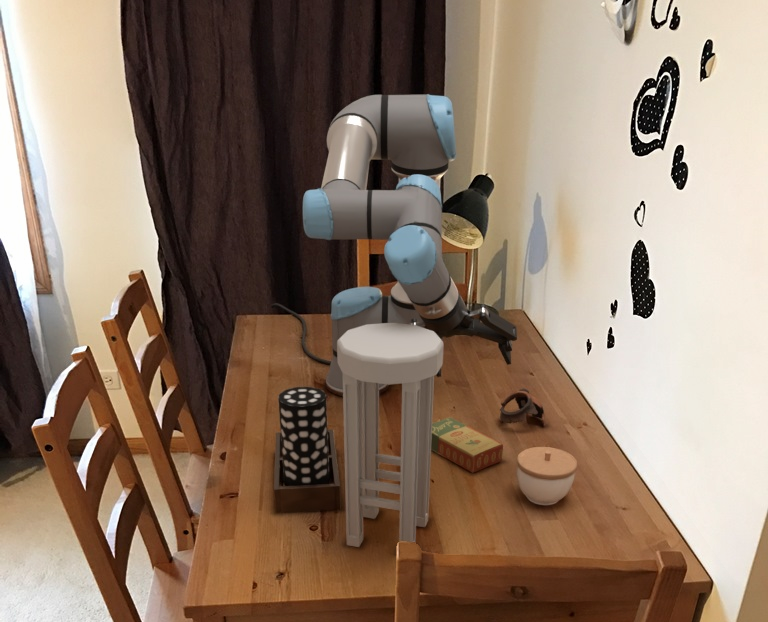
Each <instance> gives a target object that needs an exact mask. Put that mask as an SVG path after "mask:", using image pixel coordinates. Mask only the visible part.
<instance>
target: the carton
mask: <svg viewBox="0 0 768 622" xmlns="http://www.w3.org/2000/svg"><path fill="white" fill-rule="evenodd" d="M431 451H433V452H434V453H436V454H438V455H440V456H442V457H443V458H445V459H448V460H449V461H451V462H453V463H454V464H455V465H458V466H460V467H462V468H463V469H465V470H467V471H469V472H471V473H472V474H473V473H475V472H478V471H481V470H483V469H486V468H488V467H490V466H494V465H495V464H498V463H500V462H502V459H503V453H504V452H503V451H504V444H503V442H500V441H499V440H497V439H494V438H492V437H490V436H488V435H486V434H484V433H482V432H480V431H478V430H477V429H475V428H472V427H470V426H469V425H466V424H464V423H462V422H461V421H458V420H457V419H454V418H452V416H449V417H446V418H443V419H441V420H438V421H436V422H432V439H431Z"/></svg>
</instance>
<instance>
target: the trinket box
mask: <svg viewBox="0 0 768 622" xmlns="http://www.w3.org/2000/svg"><path fill="white" fill-rule="evenodd" d="M516 465H517V466H516V480H517V484H518V487H519V489H520V491H521V492H522V494H523V495H524V496H525V497H526V499H527V500H528V502H529V501H530V503H533V504H535V505H538V506H539V505H540V506H552V505H555V504H557V503H558V502H559V501H561V500H562V499H563V498H565V497H566V496H567V495H568V493H569V492H570V491H571V489H572V487H573V484H574V481H575V477H576V472H577V468H578V461H577V459H576V458H575V457H574V456H573V455H572V454H571V453H569V452H568V451H565V450H563V449H560V448H555V447H549V446H533V447H530V448H526V449H524V450H522V451H521V452H520V453H518V455H517V458H516Z"/></svg>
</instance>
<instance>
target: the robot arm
mask: <svg viewBox="0 0 768 622" xmlns="http://www.w3.org/2000/svg"><path fill="white" fill-rule="evenodd" d="M455 131H456V130H455V119H454V108H453V103H452V101H451V99H450V98H449V97H447V96H445V95H434V94H430V93H427V94H372V95H367V96H363V97H361V98H358V99H357V100H354V101H352V102H351V103H350V104H348V105H346V106H345V107H344V108H342V109H341V110H340V111H339V112H338V113H337V114H336V116H334V118H333V119H332V121H331V122H330V125H329V127H328V131H327V135H326V147H327V151H328V156H327V159H326V164H325V168H324V173H323V178H322V181H321V187H319V188H317V189H309V190H306V191H305V193H304V194H303V198H302V224H303V230H304V234H305V235H306V236H307V238H310V239H321V240H326V241H332V240H372V241H373V240H375V241H376V240H377V241H378V240H379V241H380V240H381V241H386V240H387V242H386V243H385V245H384V249H383V254H384V259H385V261H386V263H387V265H388V268H389V271H390V272H391V274H392V276H393V277H394V278H395V280H396V281H397V283H396V284H394V285H393V286H392V287H391V289H390V295H383V292H382V290H381V289H380V288H379V287H376V286H375V287H372V286H357V287H353V288H348V289H345V290H342V291H341V292H340V291H339V292H338V293H336V295H335V296H334V297H333V298H332V300H331V310H330V311H331V313H330V319H331V338H332V339H331V346H332V357H331V360H327V359H324V358H320V357H319V356H316V355H314V354H312V353H311V352H310V351H309V350H308V348H307V346H306V334H307V324H306V321H305V319H304V318H303V317H302V316H301V315H300V314H299V313H298V312H297V313H296V312H295V311H293V310H291V309H289V308H287V307H286V306H284V305H283V304H280V303H277V302H275V303H272V304H271V305H270V309H274V308H275V307H279V308H281V309H282V310H284V311H286V312H287V313H289V314H290V315H293V316H294V317H296V318H297V319H299V320H300V322H301V323H302V334H301V346H302V348H303V351H304V352H305V354H306V355H307V356H308V357H310V358H311V359H313V360H315V361H316V362H320V363H323V364H326V365H329V370H328V372H327V374H326V377H325V387H326V389H327V390H328V391H329V392H330V393H332V394H333V395H336V396H339V397H343V373H342V371H341V369H340V367H339V365H338V360H337V341H338V340H339V339H340V338H341V337H342V336H343V335H344V334H345V333H346V332H347V331H348V330H350V329H354V328H357V327H360V326H364V325H367V324H380V323H400V324H409V325H417V326H419V327H422V328H425V329H428V330H431V331H434V332H435V333H436V334H437V335H438V337H439V338H440V339H441V340H442V341H443V338H452V337H454V336H463V335H465V336H468V337H474V336H476V337H478V338H481V339H485V340H488V341H490V342H494V343H497V347H498V349H499V351H500V353H501V355H502V357H503V359H504V361H505V363H506V365H507V366H509V365H512V351H513V342H515V341H517V340H518V329H517V326H516V325H515V324H513V323H511V322H510V321H508V320H506V319H505V318H503V317H501V316H500V315H498V314H497V313H495V312H493V311H492V310H490V308H489V307H488V306H487V304H485V303H481V304H479V306H478V309H475V310H471V309H469V308H468V307H467V306H466V304H465V301H464V299H463V298H462V295H461V294H460V292H459V290H458V288H457V286H456V284H455V282H454V280H453V279H452V277H451V274H450V272H449V271H448V269H447V266H446V265H445V263H444V260H443V240H442V234H443V231H442V230H443V229H442V228H443V227H442V226H443V221H442V220H443V204H442V194H441V178H442V177H443V176H444V175H445V174H446V173H447V172H448V171H449V162H453V161H455V160H456V159H457V147H456V132H455ZM371 160H382V161H391V163H390V165H391V171H392V172H393V173H394V174H395V175H396V176H397V177H398V183H397V184H396V187H395V189H389V190H388V189H367V186H368V180H369V179H368V177H369V170H370V162H371ZM435 376H436V377H437V378H441V377H442V367H441V368H440V370H439V371H438V373H437V374H436V375H435ZM389 385H390V384H389ZM389 385H388V384H380V383H379V395H380V394H382V393H384V392H386V391H387V390H388V389H389Z"/></svg>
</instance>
